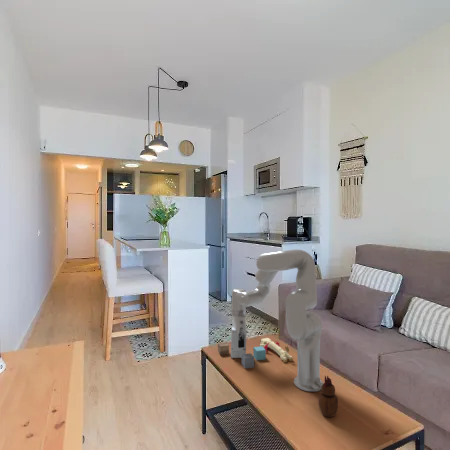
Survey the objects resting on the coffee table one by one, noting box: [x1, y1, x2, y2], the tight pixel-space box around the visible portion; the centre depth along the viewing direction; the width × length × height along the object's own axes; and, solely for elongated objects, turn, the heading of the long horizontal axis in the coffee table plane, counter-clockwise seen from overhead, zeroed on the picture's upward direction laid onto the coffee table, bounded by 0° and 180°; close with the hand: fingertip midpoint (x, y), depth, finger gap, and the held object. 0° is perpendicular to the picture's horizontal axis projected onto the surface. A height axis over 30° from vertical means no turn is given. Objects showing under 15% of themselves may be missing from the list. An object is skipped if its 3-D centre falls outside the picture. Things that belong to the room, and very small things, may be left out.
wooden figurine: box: [318, 375, 339, 418], centre depth 114 cm, size 7×6×15 cm
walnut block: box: [217, 341, 230, 356], centre depth 169 cm, size 5×5×5 cm
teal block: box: [252, 345, 267, 361], centre depth 163 cm, size 5×5×5 cm
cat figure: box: [259, 337, 294, 363], centre depth 169 cm, size 10×9×25 cm
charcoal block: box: [241, 353, 255, 369], centre depth 154 cm, size 5×5×5 cm
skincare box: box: [230, 326, 248, 359], centre depth 165 cm, size 8×6×15 cm
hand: (238, 343), depth 165 cm, fingers open, 9 cm apart
